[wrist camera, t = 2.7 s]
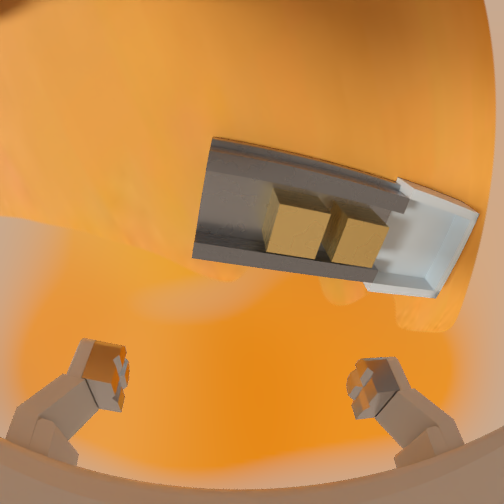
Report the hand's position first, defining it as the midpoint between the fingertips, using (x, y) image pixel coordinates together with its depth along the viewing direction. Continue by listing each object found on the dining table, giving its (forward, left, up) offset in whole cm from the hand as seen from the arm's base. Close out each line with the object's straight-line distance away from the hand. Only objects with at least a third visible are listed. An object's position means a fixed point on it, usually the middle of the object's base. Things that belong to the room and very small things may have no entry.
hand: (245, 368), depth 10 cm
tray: (+20, -1, -18) cm, 27 cm away
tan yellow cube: (+5, -1, -17) cm, 18 cm away
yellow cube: (+11, -1, -17) cm, 20 cm away
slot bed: (+6, -1, -18) cm, 19 cm away
